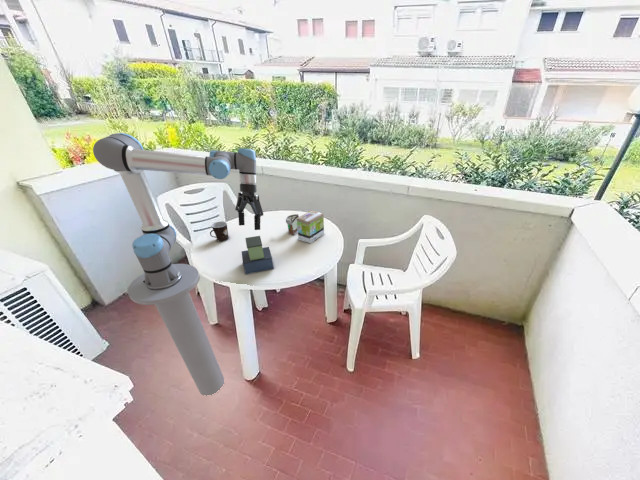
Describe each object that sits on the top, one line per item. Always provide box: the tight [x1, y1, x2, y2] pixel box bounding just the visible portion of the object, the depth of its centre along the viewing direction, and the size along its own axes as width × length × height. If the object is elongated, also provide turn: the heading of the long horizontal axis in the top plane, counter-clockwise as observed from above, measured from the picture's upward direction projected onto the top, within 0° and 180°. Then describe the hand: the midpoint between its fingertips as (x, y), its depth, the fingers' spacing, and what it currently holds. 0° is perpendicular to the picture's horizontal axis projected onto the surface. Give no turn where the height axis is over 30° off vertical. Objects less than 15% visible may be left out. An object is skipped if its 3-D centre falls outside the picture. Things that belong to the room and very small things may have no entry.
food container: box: [285, 213, 300, 236], centre depth 183 cm, size 12×6×10 cm, turn 168°
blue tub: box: [240, 246, 274, 275], centre depth 150 cm, size 14×12×7 cm
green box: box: [245, 235, 264, 261], centre depth 146 cm, size 7×10×8 cm
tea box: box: [297, 210, 325, 244], centre depth 176 cm, size 15×10×15 cm, turn 151°
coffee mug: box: [209, 221, 230, 242], centre depth 173 cm, size 12×9×10 cm
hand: (249, 227), depth 141 cm, fingers open, 13 cm apart
